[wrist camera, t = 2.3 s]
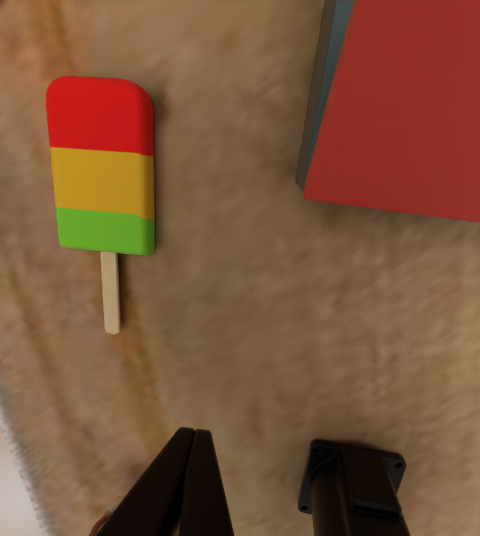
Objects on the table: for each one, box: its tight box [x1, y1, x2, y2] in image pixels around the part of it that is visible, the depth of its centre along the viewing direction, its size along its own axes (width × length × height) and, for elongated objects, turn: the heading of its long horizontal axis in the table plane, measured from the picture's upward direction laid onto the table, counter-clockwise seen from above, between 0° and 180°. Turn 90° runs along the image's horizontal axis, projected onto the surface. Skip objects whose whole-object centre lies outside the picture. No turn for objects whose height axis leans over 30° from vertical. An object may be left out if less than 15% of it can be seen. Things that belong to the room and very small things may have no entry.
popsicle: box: [46, 76, 155, 334], centre depth 20 cm, size 6×15×2 cm, turn 176°
